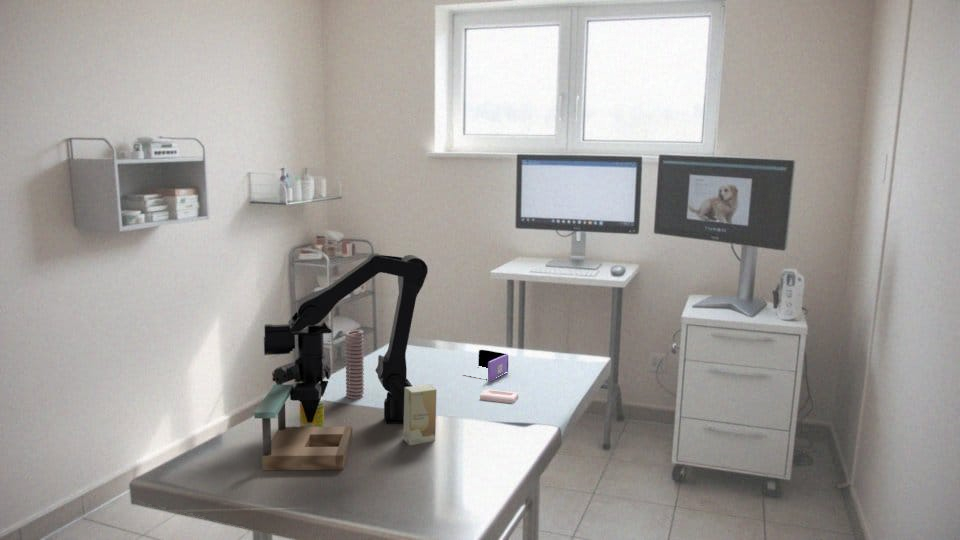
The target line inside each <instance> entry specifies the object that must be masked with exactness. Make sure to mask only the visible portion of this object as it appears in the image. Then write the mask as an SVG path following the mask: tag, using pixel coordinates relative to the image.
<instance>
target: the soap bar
mask: <svg viewBox="0 0 960 540" xmlns="http://www.w3.org/2000/svg"><path fill="white" fill-rule="evenodd" d="M518 399H519V393H518V392H513V391H504V390H495V389H485V390H484V391H483V392H481V394H479V400H483V401H488V402H489V401H490V402H495V403H496V402H498V403H506V404H514V403H515V402H516V401H517V400H518Z"/></svg>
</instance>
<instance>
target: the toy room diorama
mask: <svg viewBox="0 0 960 540" xmlns="http://www.w3.org/2000/svg"><path fill="white" fill-rule="evenodd" d="M478 366H482V367H486V368H488V381H491V380H493V379H495V378H496V377H498V376H500V375H502V374H504V373H505V372H508V373H509V354H507V353H503V352H499V351H498V352H497V351H492V350H485V349H478ZM495 380H496V379H495ZM488 381H487V382H488ZM493 381H494V380H493ZM491 382H492V381H491Z"/></svg>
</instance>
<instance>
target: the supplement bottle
mask: <svg viewBox="0 0 960 540" xmlns="http://www.w3.org/2000/svg"><path fill="white" fill-rule="evenodd" d="M299 425H300V426H299V427H325V400H324V396H323V397H321V400H320V402H319V405H318V408H317V411H316V414H315V416H314V419H313V422H312V423H308V422H307V419H306V416H305V413H304V409H303V406H302V403H301V402H300V401H299Z"/></svg>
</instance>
